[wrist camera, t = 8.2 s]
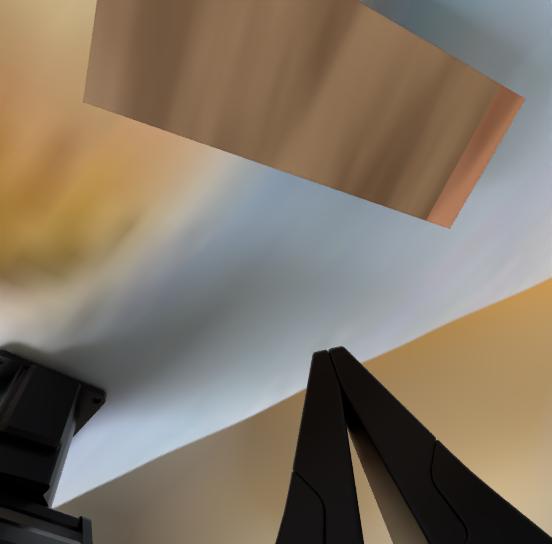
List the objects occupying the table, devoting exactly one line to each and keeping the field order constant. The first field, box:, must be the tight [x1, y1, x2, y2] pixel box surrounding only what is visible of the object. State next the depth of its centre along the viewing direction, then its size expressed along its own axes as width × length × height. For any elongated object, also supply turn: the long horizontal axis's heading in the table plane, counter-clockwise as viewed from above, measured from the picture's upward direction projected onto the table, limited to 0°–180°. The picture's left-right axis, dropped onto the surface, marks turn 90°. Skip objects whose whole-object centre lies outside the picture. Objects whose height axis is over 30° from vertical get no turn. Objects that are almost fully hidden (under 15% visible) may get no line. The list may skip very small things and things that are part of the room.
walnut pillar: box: [83, 0, 525, 229], centre depth 15 cm, size 4×6×16 cm
